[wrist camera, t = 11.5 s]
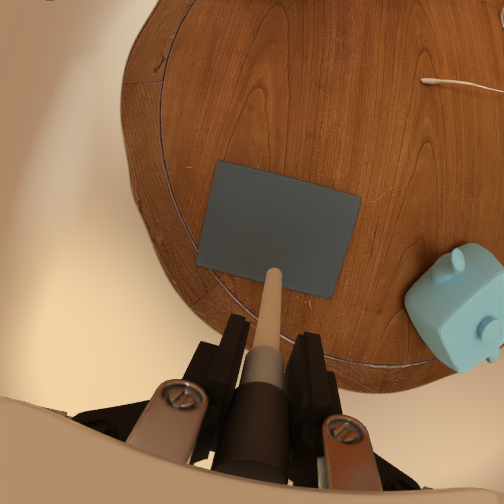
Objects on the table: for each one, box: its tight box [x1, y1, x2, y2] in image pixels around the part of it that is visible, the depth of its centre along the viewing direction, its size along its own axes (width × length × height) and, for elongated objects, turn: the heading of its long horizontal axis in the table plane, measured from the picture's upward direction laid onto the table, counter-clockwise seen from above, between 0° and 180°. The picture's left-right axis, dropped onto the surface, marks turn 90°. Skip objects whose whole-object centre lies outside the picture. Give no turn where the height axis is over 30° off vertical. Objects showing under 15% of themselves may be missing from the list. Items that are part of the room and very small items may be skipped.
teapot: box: [405, 243, 504, 373], centre depth 29 cm, size 12×18×12 cm
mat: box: [196, 161, 362, 299], centre depth 35 cm, size 16×12×1 cm
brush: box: [211, 268, 290, 485], centre depth 13 cm, size 2×2×15 cm
